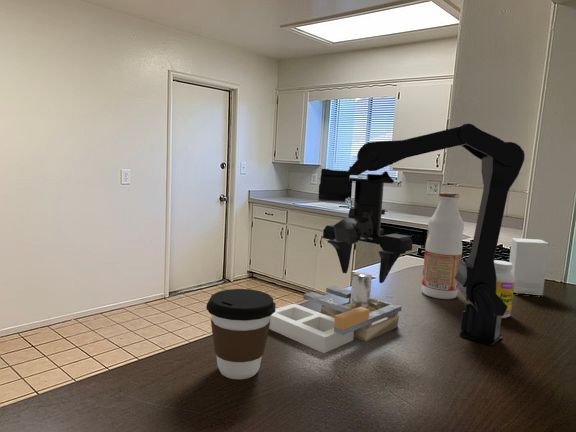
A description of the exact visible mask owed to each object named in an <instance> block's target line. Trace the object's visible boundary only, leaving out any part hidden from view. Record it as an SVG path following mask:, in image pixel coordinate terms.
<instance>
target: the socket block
mask: <svg viewBox="0 0 576 432" xmlns="http://www.w3.org/2000/svg"><path fill="white" fill-rule="evenodd" d="M350 303H351V298H348V302H345V303H343V304H341V305H346V304H350ZM369 306H371V307H373V308H375V309H376V310H378V309H381V308H383V307H381V306H378V305H375V304H371V303H370V305H369ZM319 313H322V314H324V315H327V316H330V317H333V318H335V316H336V315H338V314H341V313H343V312H340V311H337V310H334V309H331V308H329V307H326V306H323V305H321V307H320V311H319ZM398 314H399V312H397V313H395V314H392V315H390V316H388V317H385V318H383V319H381V320H378V321H376V322H373V323H371V324H369V325H366V326H364V327H361V328H359V329H357V330H354V336H353V338H356V339H359V340H361V341H364V342H368V341H370V340H372V339H375V338H377V337H379V336H382V335H383V334H386V333H387V332H389V331H392V330H394V329H396V328H398V327H399V315H398Z"/></svg>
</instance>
